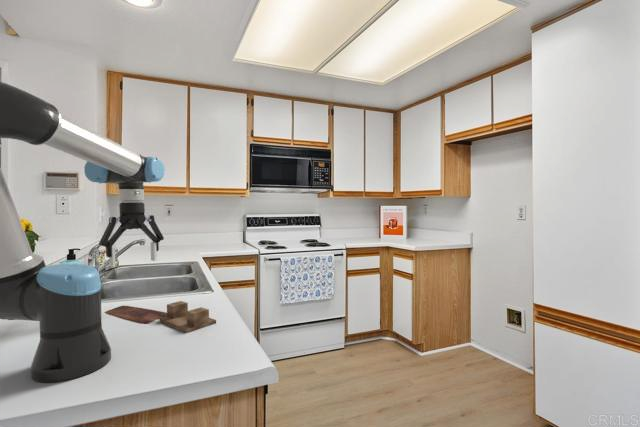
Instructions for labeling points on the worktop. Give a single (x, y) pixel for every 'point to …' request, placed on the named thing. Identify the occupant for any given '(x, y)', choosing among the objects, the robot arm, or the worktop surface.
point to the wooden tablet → (137, 314)
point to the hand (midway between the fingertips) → (134, 263)
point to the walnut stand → (186, 317)
